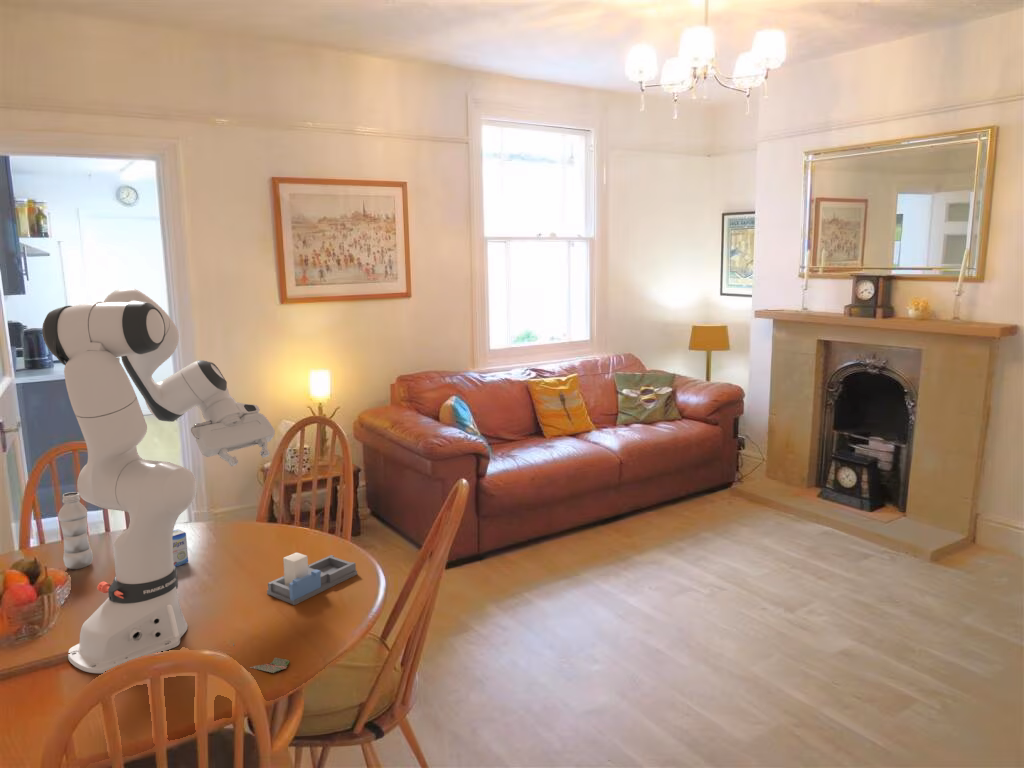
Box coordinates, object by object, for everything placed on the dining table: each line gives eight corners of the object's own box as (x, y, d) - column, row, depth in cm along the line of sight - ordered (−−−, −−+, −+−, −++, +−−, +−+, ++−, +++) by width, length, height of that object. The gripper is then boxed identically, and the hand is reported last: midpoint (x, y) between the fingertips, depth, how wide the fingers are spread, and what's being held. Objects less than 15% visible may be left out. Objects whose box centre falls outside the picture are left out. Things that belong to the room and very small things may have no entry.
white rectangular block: (295, 593, 170) (294, 561, 169) (285, 588, 173) (283, 557, 171) (309, 586, 174) (307, 556, 172) (298, 582, 176) (296, 552, 174)
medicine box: (159, 573, 184) (156, 541, 182) (151, 568, 186) (148, 537, 185) (189, 562, 190) (186, 532, 188) (180, 558, 192) (177, 528, 191)
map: (277, 678, 138) (277, 673, 138) (202, 653, 147) (202, 649, 147) (296, 665, 143) (295, 660, 142) (222, 641, 151) (221, 637, 151)
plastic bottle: (84, 572, 184) (76, 498, 180) (58, 572, 184) (49, 498, 180) (99, 561, 190) (91, 490, 187) (74, 561, 190) (66, 490, 187)
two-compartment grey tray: (296, 605, 166) (294, 582, 165) (267, 594, 172) (265, 571, 171) (358, 574, 182) (358, 553, 181) (330, 565, 188) (329, 544, 187)
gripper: (192, 418, 175) (219, 462, 171) (262, 404, 192) (288, 444, 188) (183, 433, 178) (209, 477, 174) (253, 418, 195) (278, 458, 191)
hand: (251, 460), depth 181 cm, fingers open, 8 cm apart
